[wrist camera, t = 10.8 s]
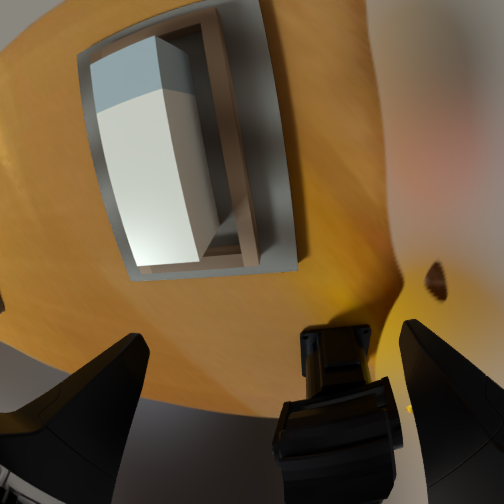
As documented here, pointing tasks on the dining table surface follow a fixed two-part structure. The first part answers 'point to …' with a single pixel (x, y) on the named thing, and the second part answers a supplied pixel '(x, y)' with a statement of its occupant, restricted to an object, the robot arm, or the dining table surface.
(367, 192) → the dining table surface
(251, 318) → the dining table surface
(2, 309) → the worn brown figurine
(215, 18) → the cradle jig
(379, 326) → the dining table surface
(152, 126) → the pale grey rectangular block
